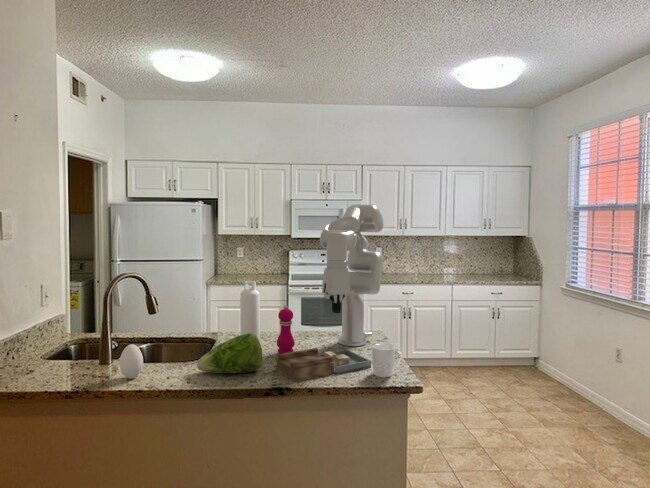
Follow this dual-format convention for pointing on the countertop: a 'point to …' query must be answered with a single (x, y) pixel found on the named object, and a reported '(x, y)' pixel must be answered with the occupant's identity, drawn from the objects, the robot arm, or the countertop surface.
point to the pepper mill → (285, 331)
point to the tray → (351, 362)
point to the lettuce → (233, 356)
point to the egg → (131, 361)
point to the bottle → (250, 310)
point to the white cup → (383, 359)
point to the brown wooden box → (304, 364)
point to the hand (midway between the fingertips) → (336, 312)
